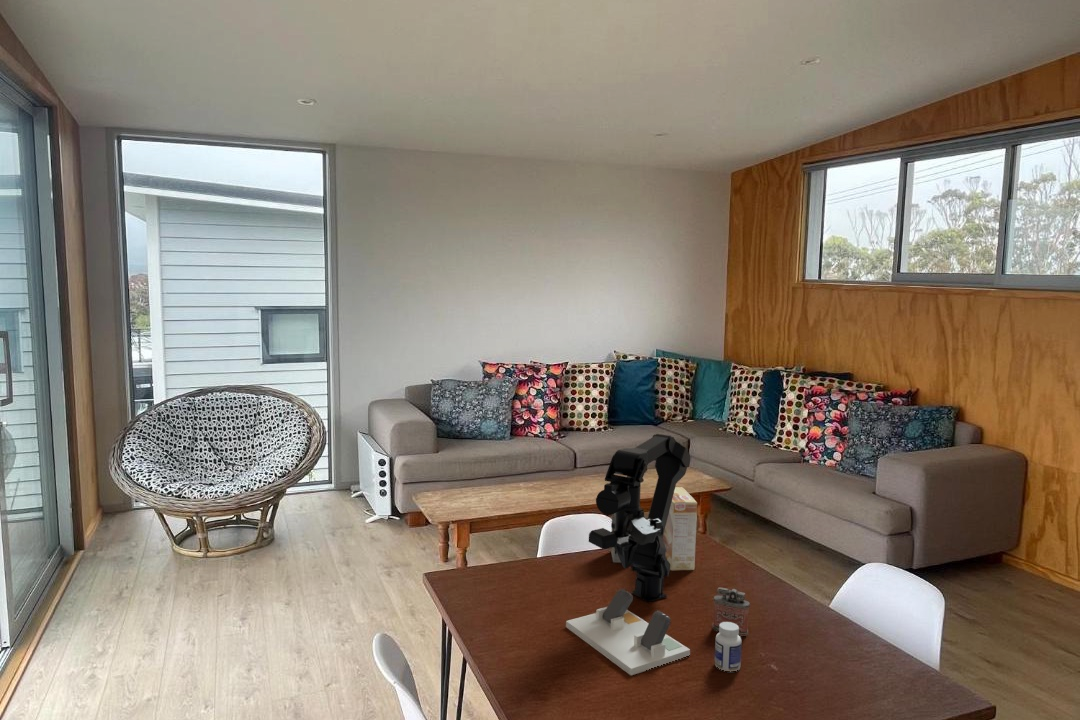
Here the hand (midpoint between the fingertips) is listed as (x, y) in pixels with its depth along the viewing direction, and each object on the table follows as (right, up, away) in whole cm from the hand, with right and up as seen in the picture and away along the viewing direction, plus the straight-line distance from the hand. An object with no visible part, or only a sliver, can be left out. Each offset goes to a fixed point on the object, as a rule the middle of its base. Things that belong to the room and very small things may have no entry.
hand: (625, 567), depth 179 cm
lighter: (+23, -13, -5) cm, 28 cm away
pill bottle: (+19, -15, -21) cm, 32 cm away
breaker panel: (-1, -13, -11) cm, 17 cm away
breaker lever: (-4, -10, -6) cm, 13 cm away
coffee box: (+4, -8, +38) cm, 39 cm away
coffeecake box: (+18, -8, +37) cm, 42 cm away
